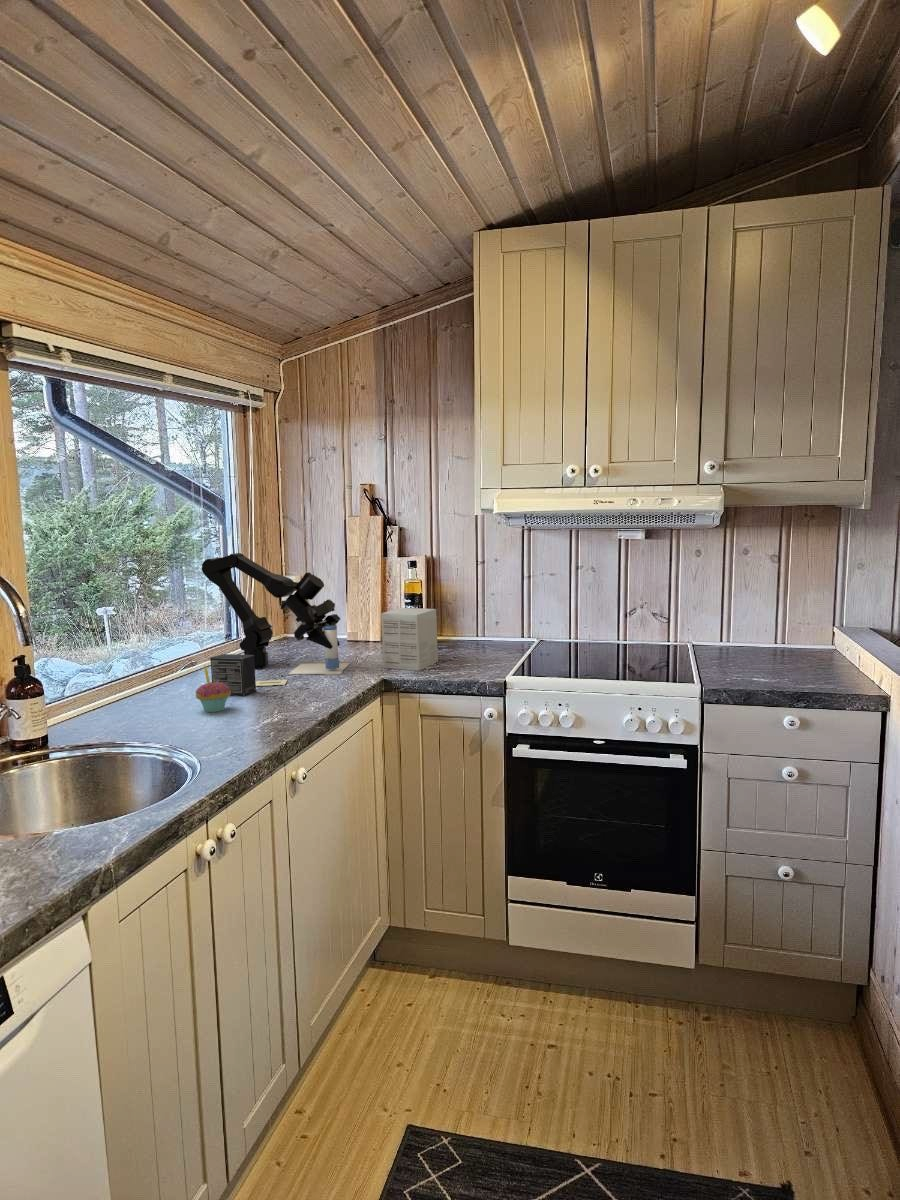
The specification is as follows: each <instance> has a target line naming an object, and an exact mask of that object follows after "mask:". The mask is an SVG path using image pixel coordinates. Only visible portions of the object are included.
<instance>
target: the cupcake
mask: <svg viewBox="0 0 900 1200" xmlns="http://www.w3.org/2000/svg"><path fill="white" fill-rule="evenodd" d="M203 669H204V673H205V678H206V683H204V684H202V685H200V686H199V687H198V688H196V690H195V698H196V699H197V700H199V701H200V703H201V705H202V707H203V710H204V712H205V711H207V712H206V713H217V712H216V711H218V712H222V711H223V709H225V706H226V703H227V699H228V697H230V696H232V695H231V692H230V688H229V686H227V685H225V684H224V683H221V682H212V681H211V682H210V677H209V670H208V667H207V666H206V665H205V664H204V668H203ZM221 710H222V711H221Z"/></svg>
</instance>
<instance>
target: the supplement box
mask: <svg viewBox="0 0 900 1200" xmlns="http://www.w3.org/2000/svg"><path fill="white" fill-rule="evenodd" d="M380 617H381V640H382V641H381V644H382V645H381V646H382V667H383V669H393V670H394V669H395V670H405V671H406V670H408V671H417V672H418V671H422V670H424V669H426V668H429V667H431V666H433V665H435V664H437V663H438V662H439V657H438V656H439V655H438V653H439V652H438V651H439V650H438V627H437V626H438V624H437V623H438V622H437V609H436V608H421V607H419V608H417V607H414V608H413V607H399V608H396V609H391V610H389V611H385V612H381V615H380ZM436 662H437V663H436ZM434 663H435V664H434ZM432 664H433V665H432ZM430 665H431V666H430ZM428 666H429V667H428Z"/></svg>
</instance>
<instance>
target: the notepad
mask: <svg viewBox="0 0 900 1200" xmlns="http://www.w3.org/2000/svg"><path fill="white" fill-rule="evenodd" d="M350 663H352V662H351V661H339V668H336V669H326V668H325V661H323V662H322V661H321V662H320V661H319V662H318V661H317V662H314V661H313V662H301V663H300V664H298V666H295V668H293V670H291V671H290V672H289V673H288V675H289V674H326V675H341V674H342V673H343V672H344V671H345V670H346V669H347V668H348V667H349V666H350V665H351V664H350ZM349 664H350V665H349ZM348 665H349V666H348ZM347 666H348V667H347ZM346 667H347V668H346ZM345 668H346V669H345ZM344 669H345V670H344ZM343 670H344V671H343ZM342 671H343V672H342Z"/></svg>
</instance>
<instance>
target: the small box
mask: <svg viewBox="0 0 900 1200" xmlns="http://www.w3.org/2000/svg"><path fill="white" fill-rule="evenodd" d="M209 662H210V667H211V668H210V673H211V682H221V683H224V684H225V685H227V686H229V688H230V692H231V695H230V696H233V695H237V697H239V696H240V697H245V696H247V694H248V695H251V694H252V692H253V693H255V692H257V687H256V681H257V680H256V669H255V663H254V655H244V654H232V653H229V654H227V653H222V654H219V655H215V656H210V657H209ZM238 695H239V696H238Z"/></svg>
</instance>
